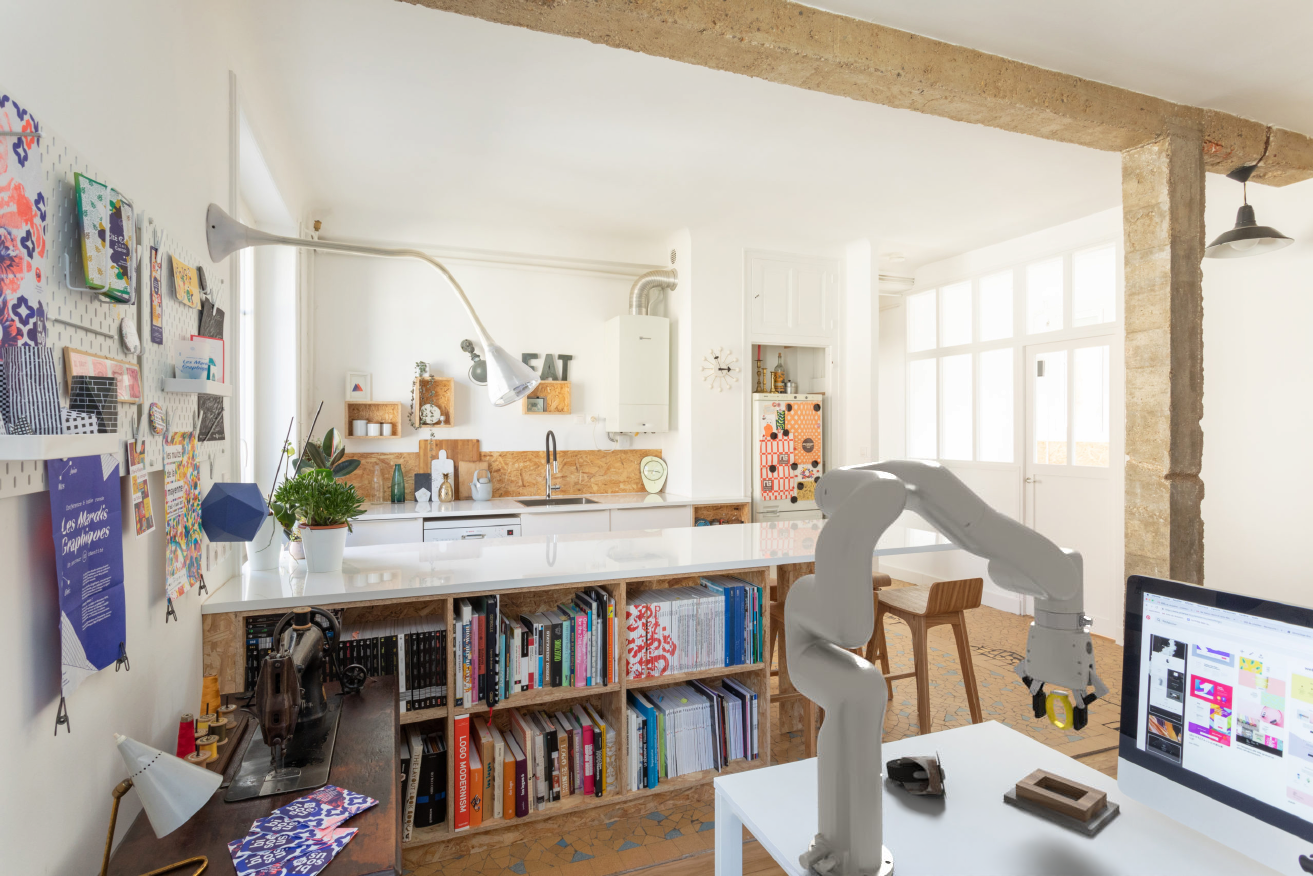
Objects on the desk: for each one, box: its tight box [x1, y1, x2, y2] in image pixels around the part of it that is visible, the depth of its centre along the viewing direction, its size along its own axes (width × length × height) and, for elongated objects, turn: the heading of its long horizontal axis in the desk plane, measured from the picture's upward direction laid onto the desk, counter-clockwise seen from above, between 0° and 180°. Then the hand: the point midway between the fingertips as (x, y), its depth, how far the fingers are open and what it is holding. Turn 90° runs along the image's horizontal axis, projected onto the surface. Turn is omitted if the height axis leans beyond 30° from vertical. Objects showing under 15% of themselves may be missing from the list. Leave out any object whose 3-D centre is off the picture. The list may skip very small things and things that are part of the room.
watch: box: [1045, 690, 1074, 731], centre depth 120 cm, size 6×3×6 cm, turn 4°
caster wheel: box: [885, 750, 947, 800], centre depth 127 cm, size 7×11×10 cm
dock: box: [1003, 768, 1120, 837], centre depth 120 cm, size 12×14×3 cm
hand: (1059, 721), depth 120 cm, fingers closed on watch, 5 cm apart
